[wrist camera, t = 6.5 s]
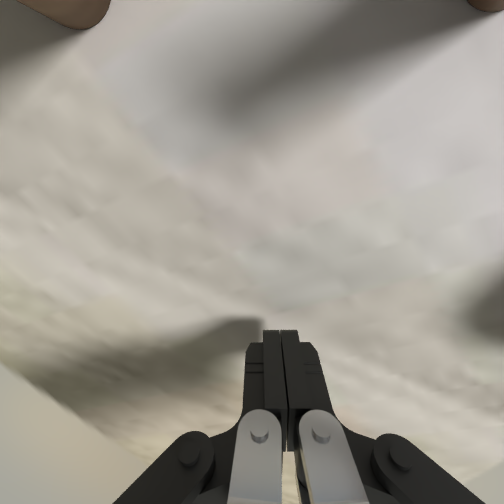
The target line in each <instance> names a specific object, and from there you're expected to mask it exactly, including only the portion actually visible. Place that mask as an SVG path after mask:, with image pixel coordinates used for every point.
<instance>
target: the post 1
mask: <svg viewBox="0 0 504 504" xmlns="http://www.w3.org/2000/svg"><path fill="white" fill-rule="evenodd" d="M17 1H19V2H20V3H22V4H24V5H26V6H28V7H30V8H32V9H33V10H35V11H37V12H39V13H41V14H43V15H45V16H47V17H48V18H50V19H52V20H54V21H56V22H58V23H60V24H61V25H63V26H66V27H69V28H72V29H87V28H90V27H92V26H94V25H96V24H97V23H98V22H99V21H100V20H101V19H102V18H103V17H104V15H105V14H106V12H107V10H108V8H109V5H110V1H111V0H17Z"/></svg>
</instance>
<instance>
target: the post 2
mask: <svg viewBox="0 0 504 504" xmlns="http://www.w3.org/2000/svg"><path fill="white" fill-rule="evenodd" d="M467 1H468V2H469V3H470V4H471V5H472V6H473V7H475V8H476V9H479V10H481V11H485V12H495V11H500V10H504V0H467Z"/></svg>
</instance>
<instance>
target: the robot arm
mask: <svg viewBox="0 0 504 504" xmlns="http://www.w3.org/2000/svg"><path fill="white" fill-rule="evenodd" d="M286 441H287V451H294V455H295V464H296V471H295V479H296V486H297V491H298V497H299V503H300V504H485V503H484V502H483V501H481V500H480V499H479V498H478V497H477V496H475V495H474V494H473V493H472V492H470V491H469V490H468V489H467V488H466V487H464V486H463V485H462V484H461V483H460V482H458V481H457V480H456V479H455V478H453V477H452V476H451V475H450V474H449V473H447V472H446V471H445V470H444V469H443V468H441V467H440V466H439V465H438V464H436V463H435V462H434V461H433V460H432V459H430V458H429V457H428V456H427V455H426V454H424V453H423V452H422V451H421V450H419V449H418V448H417V447H416V446H415V445H413V444H412V443H411V442H410V441H408V440H407V439H405V438H403V437H401V436H399V435H396V434H383V435H381V436H379V437H378V438H377V439H376V440H374V439H372V438H369V437H366V436H363V435H360V434H357V433H355V432H353V431H351V430H349V429H348V428H346V427H345V426H344V425H343V424H342V423H341V422H340V421H339V420H338V419H337V417H336V416H335V414H334V411H333V409H332V405H331V401H330V397H329V394H328V390H327V386H326V382H325V379H324V375H323V371H322V367H321V365H320V360H319V356H318V352H317V351H316V349H315V348H314V347H313V345H312V344H311V343H310V342H300V341H299V336H298V331H297V330H280V332H279V330H263V342H260V343H251V344H250V345H249V347H248V349H247V351H246V357H245V374H244V392H243V409H242V414H241V417H240V419H239V420H238V422H237V423H236V424H235V426H233V427H232V428H231V429H230V430H228V431H226V432H224V433H221V434H219V435H216V436H213V437H210V438H209V437H208V436H207V435H206V434H204V433H202V432H199V431H191V432H187V433H185V434H183V435H181V436H180V437H179V438H177V439H176V440H175V441H174V442H173V443H172V444H171V445H170V446H169V447H168V448H167V449H166V450H165V451H164V452H163V453H162V454H161V455H160V456H159V457H158V458H157V459H156V460H155V461H154V462H153V463H152V464H151V465H150V466H149V467H148V468H147V469H146V471H144V472H143V474H142V475H141V476H140V477H139V478H138V479H137V480H136V481H135V482H134V483H133V484H132V485H131V486H130V487H129V488H128V489H127V490H126V491H125V492H124V493H123V494H122V495H121V496H120V497H119V498H118V499H117V500H116V501H115V502H114V503H113V504H282V463H283V452H286Z"/></svg>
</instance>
